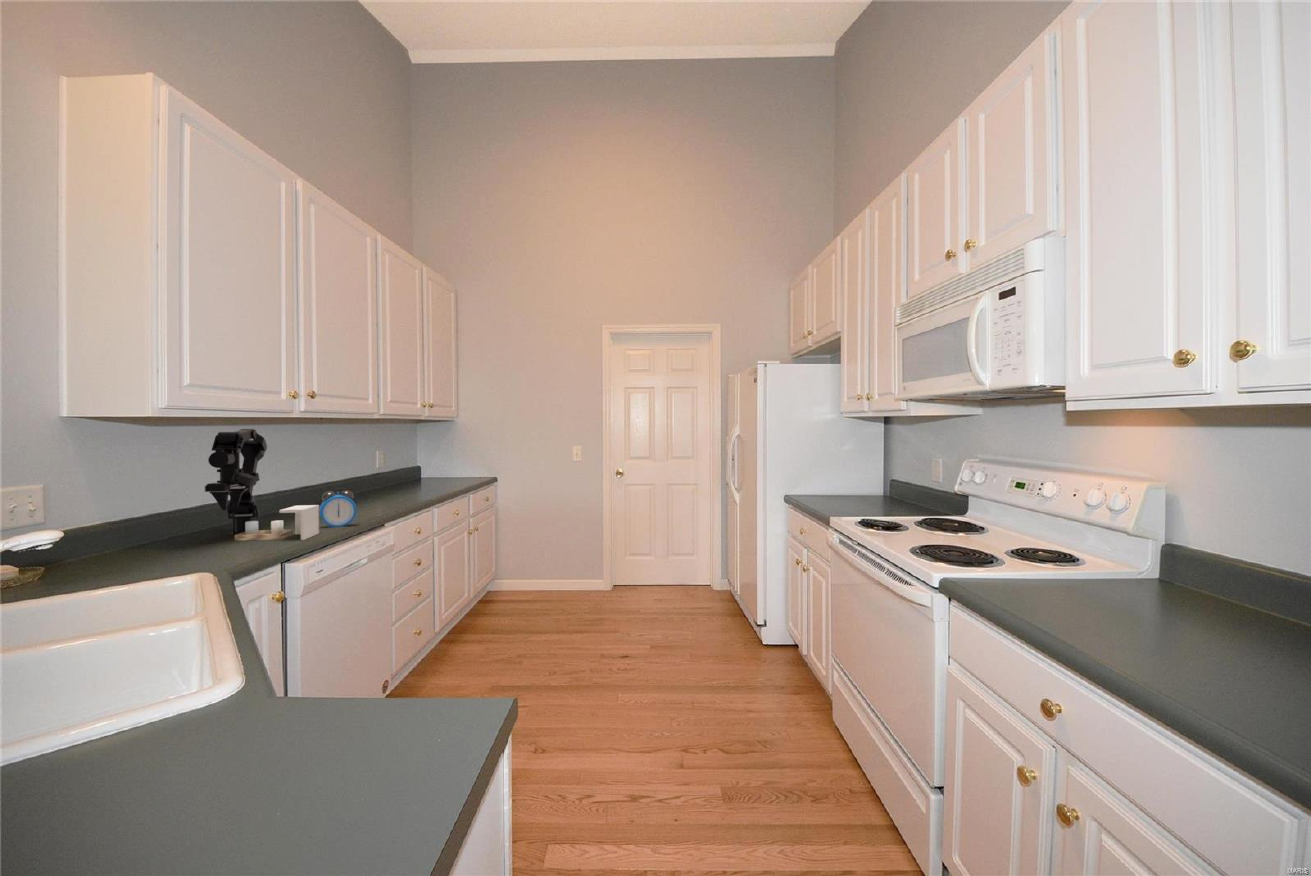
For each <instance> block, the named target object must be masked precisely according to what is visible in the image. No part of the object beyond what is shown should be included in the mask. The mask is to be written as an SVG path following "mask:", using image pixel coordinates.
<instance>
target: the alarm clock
mask: <svg viewBox="0 0 1311 876" xmlns="http://www.w3.org/2000/svg"><path fill="white" fill-rule="evenodd" d="M336 493H337V494H336ZM336 493H335V492H334V491H331V490H330V491H329V490H328V491H325V492H324V493H323V494H322V496H321V499H322V502H321V504H320V505H319V518H321V520H322V522H323V523H324V524H325V525H327V526H328V528H331V527H332V528H340V527H341V528H342V527H345V526H347V527H349V524H351V523H352V522H353V521H354V519H355V518H356V516H357V512H358V510H357V509H358V508H357V504H356V503H355V501H354V500H353V499H354V497H355V496H354V493H353V492H352V491H351V490H342V491H341V494H340V491H337V492H336Z"/></svg>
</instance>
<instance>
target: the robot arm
mask: <svg viewBox="0 0 1311 876" xmlns="http://www.w3.org/2000/svg"><path fill="white" fill-rule="evenodd" d="M267 449H268V444H267V441H266V440H265V437H263V436H262V435H260V434H259V433H257V430H256V429H255V428H242V429H241V428H240V429H239V430H236V431H219V432H218V433H217V435H215V437H214V440H213V444H212V447H211V451H212V453H211V454H210V455H209V457H208V464H209V465H210V466H211V467H213V468H216V473H219V480H216V482H210V483H207V484H206V485H205V486H204V492H206V493H207V492H208V493H209V494H211V496H213V498H214V499H215V501H216V503H217V504H218V506H219V507H220V509H221V510H222V511H226V510H227V516H228V519H229V520H231V519H232V532H230V533H229V535H234V534H235V535H237V534H240V533H243V532H245V522H247V521H257V520H256V518H259V517H260V510H259V506H258V504H257V503H256V502H257V501H256V499H255V497H254V495H253V491H254V486H256V484H257V482H259V481H260V476H259V473H258V472H257V468H258V462H259V461H261V459H263V458H264V457H265V453H266V452H267ZM213 451H214V452H213ZM240 453H241V455H242V457H243V461H242V466H241V468H240V465H241V463H240V462H241V461H240V459H241V458H240V456H241V455H240ZM229 497H230V498H229Z"/></svg>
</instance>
